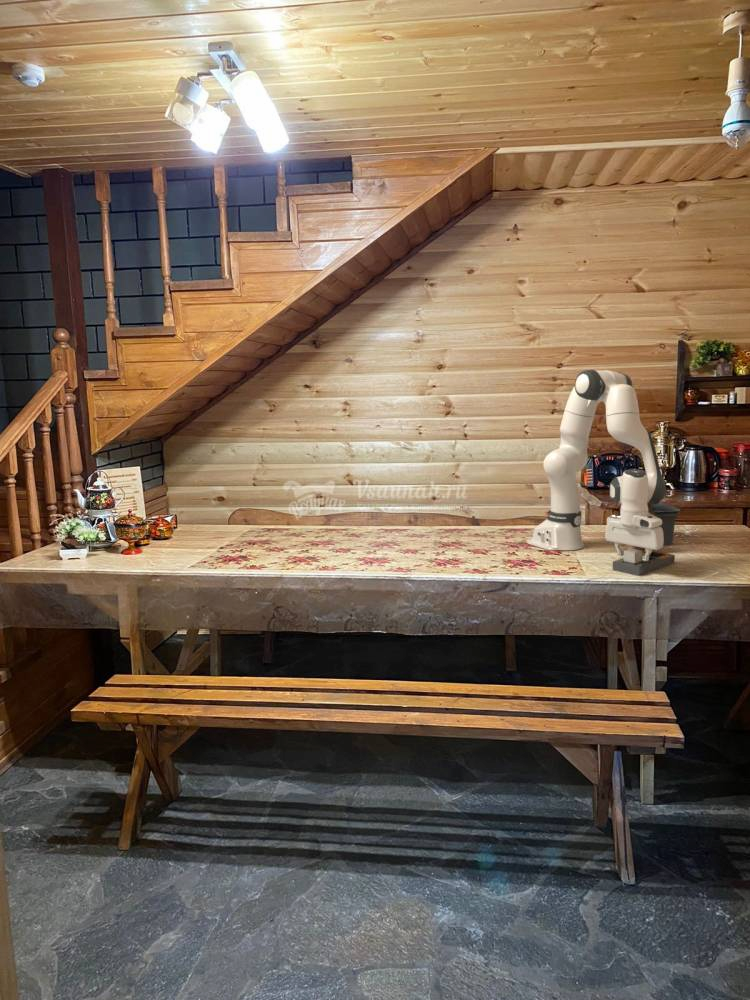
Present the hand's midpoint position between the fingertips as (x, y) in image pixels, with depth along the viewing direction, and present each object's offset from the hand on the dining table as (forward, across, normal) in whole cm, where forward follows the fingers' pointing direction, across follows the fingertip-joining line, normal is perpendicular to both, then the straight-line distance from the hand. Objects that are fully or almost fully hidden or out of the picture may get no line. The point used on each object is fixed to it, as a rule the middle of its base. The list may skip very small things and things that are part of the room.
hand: (632, 557), depth 249 cm
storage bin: (+5, -18, +44) cm, 48 cm away
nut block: (+4, 0, 0) cm, 4 cm away
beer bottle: (+5, -12, +27) cm, 30 cm away
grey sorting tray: (+5, 0, +7) cm, 8 cm away
